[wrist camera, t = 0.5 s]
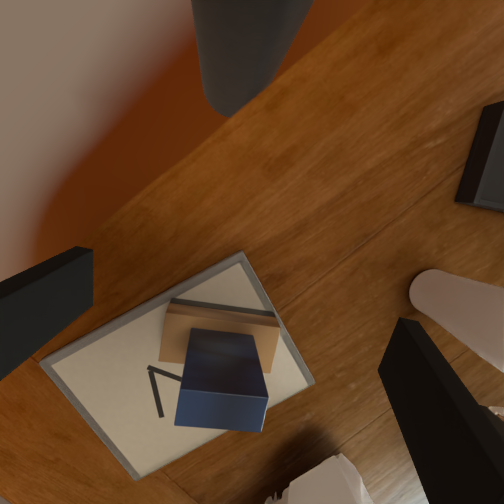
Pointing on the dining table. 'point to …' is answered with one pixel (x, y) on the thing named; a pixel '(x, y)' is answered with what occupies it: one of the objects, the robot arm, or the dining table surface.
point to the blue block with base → (220, 363)
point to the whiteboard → (160, 370)
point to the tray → (486, 163)
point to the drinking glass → (464, 311)
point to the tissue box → (326, 485)
